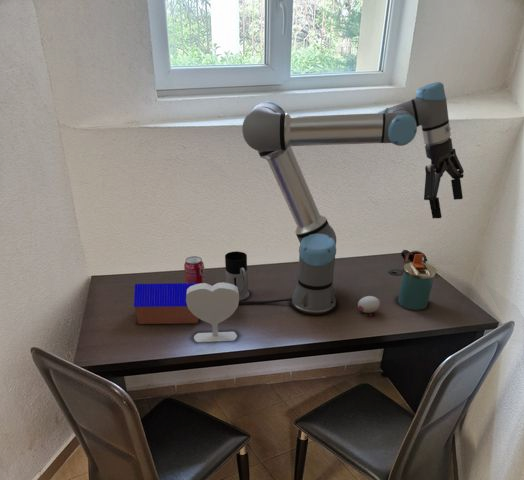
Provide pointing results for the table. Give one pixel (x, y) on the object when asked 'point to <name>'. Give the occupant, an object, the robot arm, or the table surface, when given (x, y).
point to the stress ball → (368, 304)
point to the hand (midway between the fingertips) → (447, 208)
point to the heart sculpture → (213, 308)
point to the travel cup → (416, 286)
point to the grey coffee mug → (237, 272)
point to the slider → (418, 261)
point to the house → (163, 303)
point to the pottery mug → (411, 256)
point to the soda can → (194, 270)
